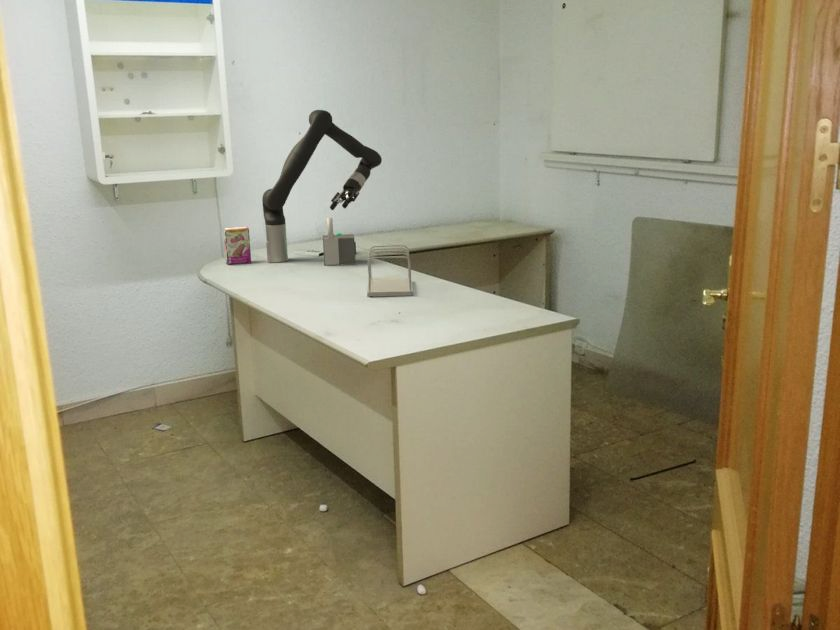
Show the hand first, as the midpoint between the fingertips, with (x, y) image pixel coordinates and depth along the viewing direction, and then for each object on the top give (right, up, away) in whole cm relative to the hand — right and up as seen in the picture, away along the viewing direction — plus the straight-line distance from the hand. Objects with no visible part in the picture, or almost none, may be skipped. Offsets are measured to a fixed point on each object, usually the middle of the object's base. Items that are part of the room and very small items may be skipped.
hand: (337, 207), depth 375 cm
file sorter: (+26, -39, -53) cm, 71 cm away
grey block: (+1, -25, +1) cm, 25 cm away
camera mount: (-1, -20, +20) cm, 28 cm away
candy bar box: (-46, -25, +6) cm, 53 cm away
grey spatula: (-2, -26, -5) cm, 27 cm away
